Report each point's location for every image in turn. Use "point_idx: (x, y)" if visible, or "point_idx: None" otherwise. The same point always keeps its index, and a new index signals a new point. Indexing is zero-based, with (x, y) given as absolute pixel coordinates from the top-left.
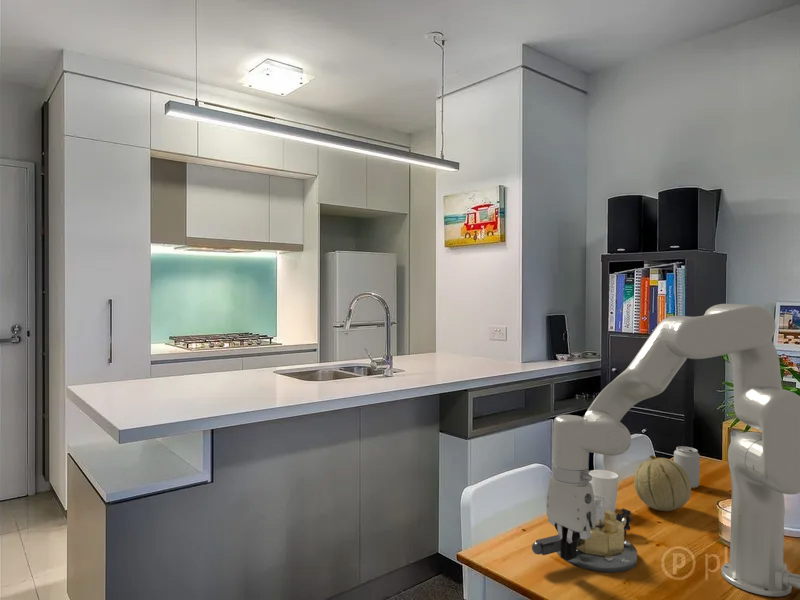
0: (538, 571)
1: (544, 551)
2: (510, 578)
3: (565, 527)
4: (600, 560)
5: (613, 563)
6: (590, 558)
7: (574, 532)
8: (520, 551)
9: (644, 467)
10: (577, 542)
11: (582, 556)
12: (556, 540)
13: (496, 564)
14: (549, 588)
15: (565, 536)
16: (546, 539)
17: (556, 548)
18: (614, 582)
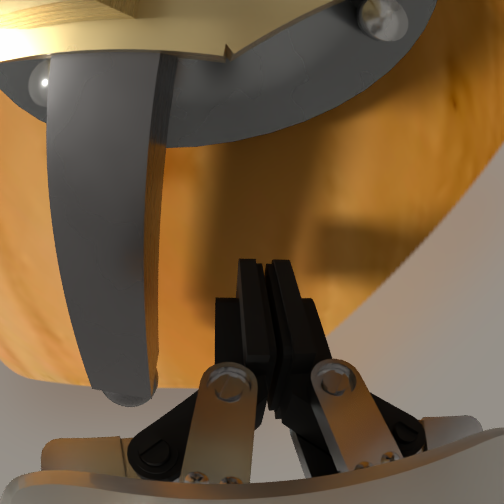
0: (162, 312)
1: (155, 360)
2: (161, 387)
3: (206, 444)
4: (349, 59)
5: (414, 41)
6: (291, 82)
7: (325, 432)
8: (6, 251)
9: None
10: (166, 92)
11: (240, 104)
12: (135, 326)
13: (74, 365)
14: None
15: (257, 423)
16: (100, 356)
17: (155, 298)
18: (429, 131)
